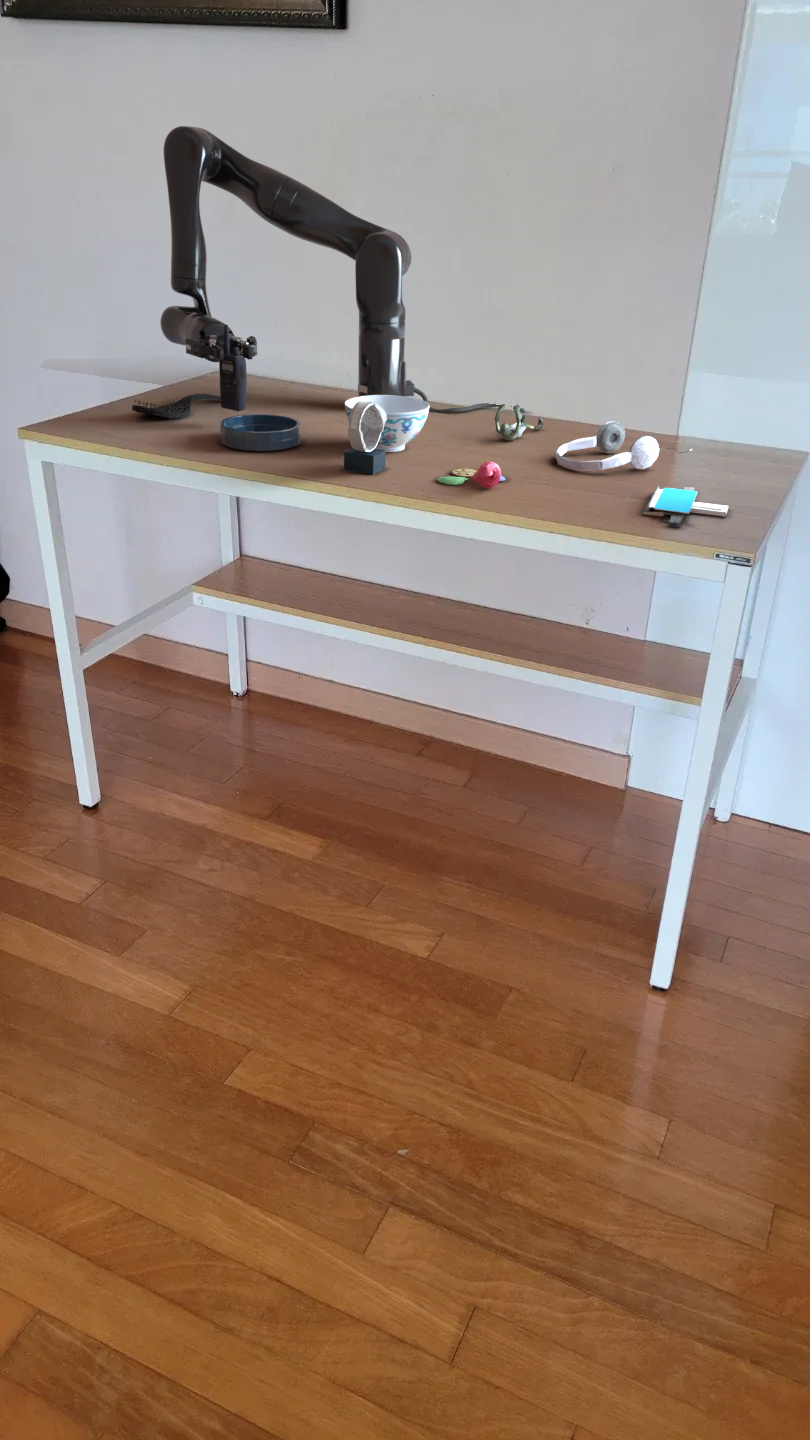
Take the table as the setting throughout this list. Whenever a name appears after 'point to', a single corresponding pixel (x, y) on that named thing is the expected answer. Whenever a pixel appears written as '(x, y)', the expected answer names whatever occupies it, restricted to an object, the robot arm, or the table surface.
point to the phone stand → (679, 505)
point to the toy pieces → (476, 475)
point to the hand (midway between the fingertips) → (236, 354)
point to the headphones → (611, 450)
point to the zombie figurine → (514, 425)
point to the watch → (361, 453)
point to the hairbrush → (173, 406)
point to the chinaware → (395, 419)
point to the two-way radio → (232, 377)
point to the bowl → (260, 432)
